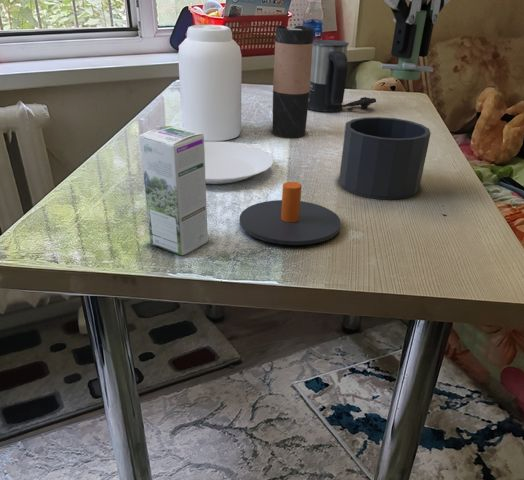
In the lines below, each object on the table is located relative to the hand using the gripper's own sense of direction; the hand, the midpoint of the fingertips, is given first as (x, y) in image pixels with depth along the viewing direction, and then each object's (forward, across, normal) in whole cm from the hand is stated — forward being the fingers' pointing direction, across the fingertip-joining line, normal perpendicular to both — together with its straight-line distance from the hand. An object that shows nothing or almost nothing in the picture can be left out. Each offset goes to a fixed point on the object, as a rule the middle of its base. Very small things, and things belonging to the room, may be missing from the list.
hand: (409, 54), depth 75 cm
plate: (+21, -15, +27) cm, 38 cm away
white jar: (+22, -2, +48) cm, 52 cm away
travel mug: (+21, +12, +39) cm, 47 cm away
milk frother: (+21, +38, +50) cm, 67 cm away
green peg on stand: (+3, 0, 0) cm, 3 cm away
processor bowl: (+21, +6, +6) cm, 23 cm away
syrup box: (+21, -35, +5) cm, 41 cm away
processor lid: (+21, -19, +1) cm, 28 cm away
